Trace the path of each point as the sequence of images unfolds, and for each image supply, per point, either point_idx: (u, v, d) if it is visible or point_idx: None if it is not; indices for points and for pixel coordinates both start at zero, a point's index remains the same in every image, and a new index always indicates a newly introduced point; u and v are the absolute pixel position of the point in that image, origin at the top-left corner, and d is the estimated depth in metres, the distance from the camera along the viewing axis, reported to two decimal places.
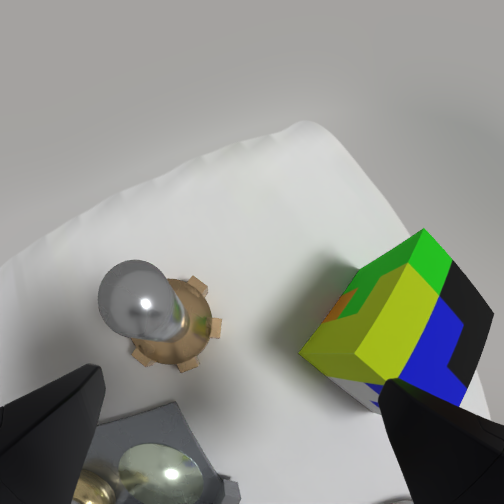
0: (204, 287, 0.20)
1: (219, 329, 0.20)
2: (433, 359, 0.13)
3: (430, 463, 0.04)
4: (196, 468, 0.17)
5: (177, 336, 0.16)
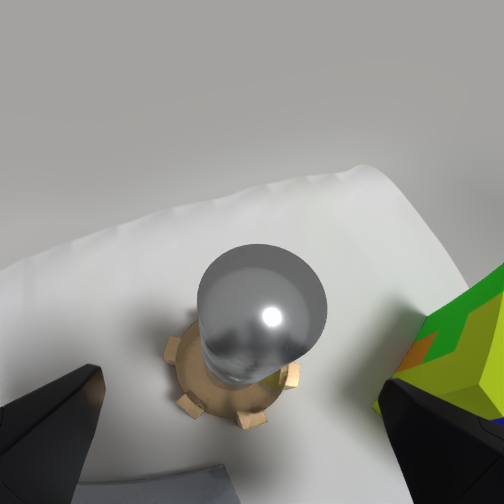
0: None
1: (297, 376, 0.15)
2: None
3: (430, 463, 0.04)
4: None
5: None
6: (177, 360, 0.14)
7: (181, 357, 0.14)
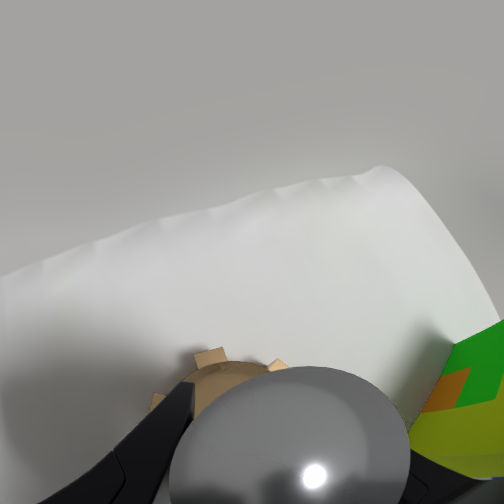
0: None
1: None
2: None
3: None
4: None
5: None
6: None
7: None
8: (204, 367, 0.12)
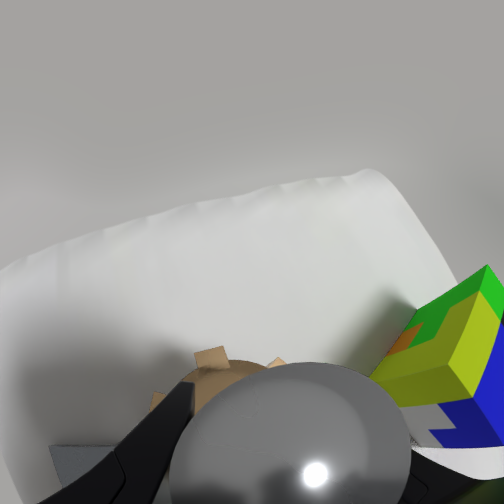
0: None
1: None
2: (498, 376, 0.11)
3: None
4: None
5: None
6: None
7: None
8: (204, 366, 0.12)
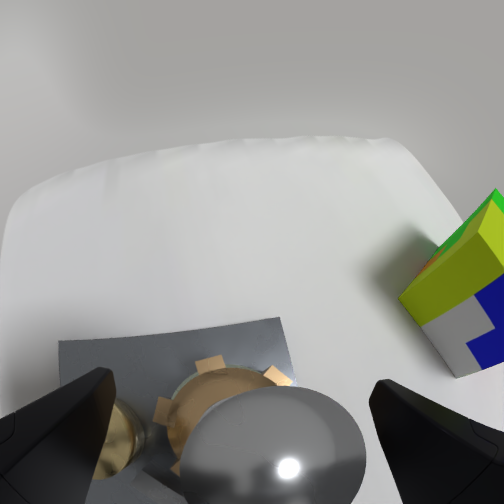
0: (288, 382, 0.13)
1: None
2: None
3: (421, 467, 0.04)
4: None
5: None
6: (168, 425, 0.11)
7: (173, 422, 0.11)
8: (204, 373, 0.13)
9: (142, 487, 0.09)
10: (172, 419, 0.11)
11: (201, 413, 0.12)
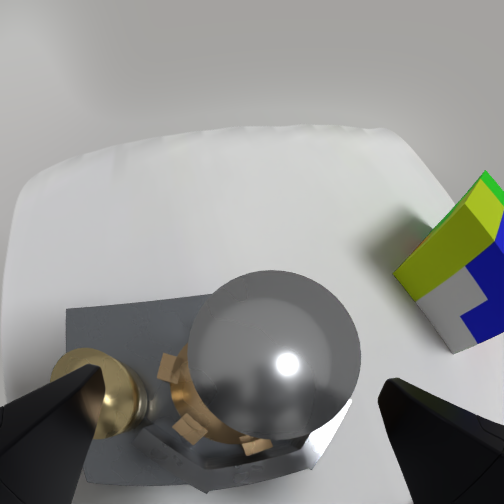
0: None
1: None
2: None
3: (430, 463, 0.04)
4: None
5: None
6: (172, 381, 0.12)
7: (177, 378, 0.12)
8: None
9: (143, 447, 0.10)
10: (175, 375, 0.12)
11: None
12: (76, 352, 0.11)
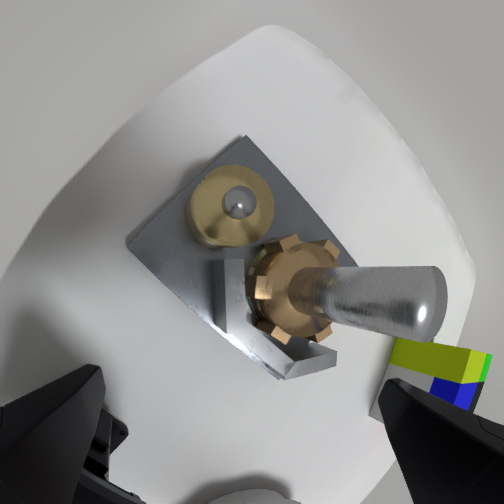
0: None
1: (323, 337, 0.19)
2: (463, 400, 0.18)
3: (430, 463, 0.04)
4: None
5: (328, 320, 0.15)
6: (285, 252, 0.18)
7: (289, 253, 0.18)
8: (326, 249, 0.19)
9: (229, 269, 0.16)
10: (290, 251, 0.18)
11: (305, 265, 0.18)
12: (255, 175, 0.16)
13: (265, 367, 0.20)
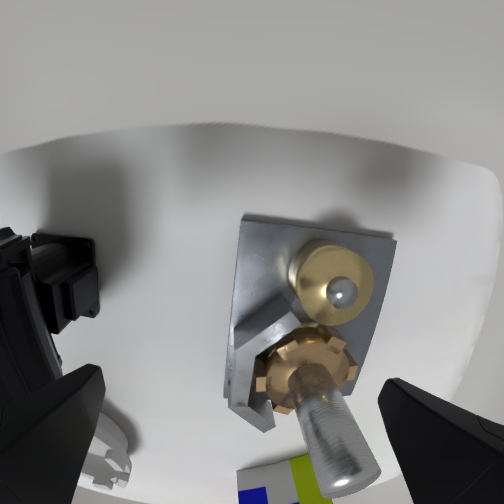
0: None
1: (280, 411, 0.19)
2: None
3: (430, 463, 0.04)
4: None
5: (296, 413, 0.16)
6: (326, 345, 0.18)
7: (327, 349, 0.18)
8: (348, 370, 0.19)
9: (285, 320, 0.17)
10: (329, 348, 0.18)
11: (326, 365, 0.18)
12: (371, 284, 0.16)
13: (226, 383, 0.21)
